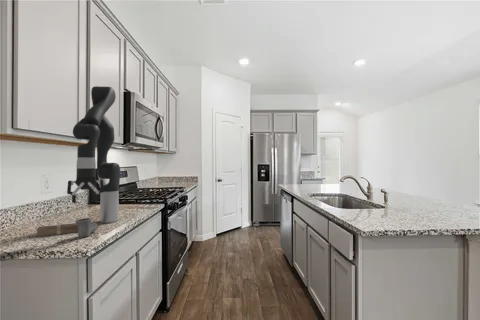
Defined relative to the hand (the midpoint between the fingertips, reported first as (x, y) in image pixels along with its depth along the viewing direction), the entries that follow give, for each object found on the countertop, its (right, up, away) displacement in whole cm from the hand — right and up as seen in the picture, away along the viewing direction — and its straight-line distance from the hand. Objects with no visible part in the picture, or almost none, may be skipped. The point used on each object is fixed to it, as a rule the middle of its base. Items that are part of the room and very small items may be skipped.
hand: (85, 202), depth 115 cm
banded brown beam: (-13, -15, +5) cm, 20 cm away
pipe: (0, -15, +1) cm, 15 cm away
